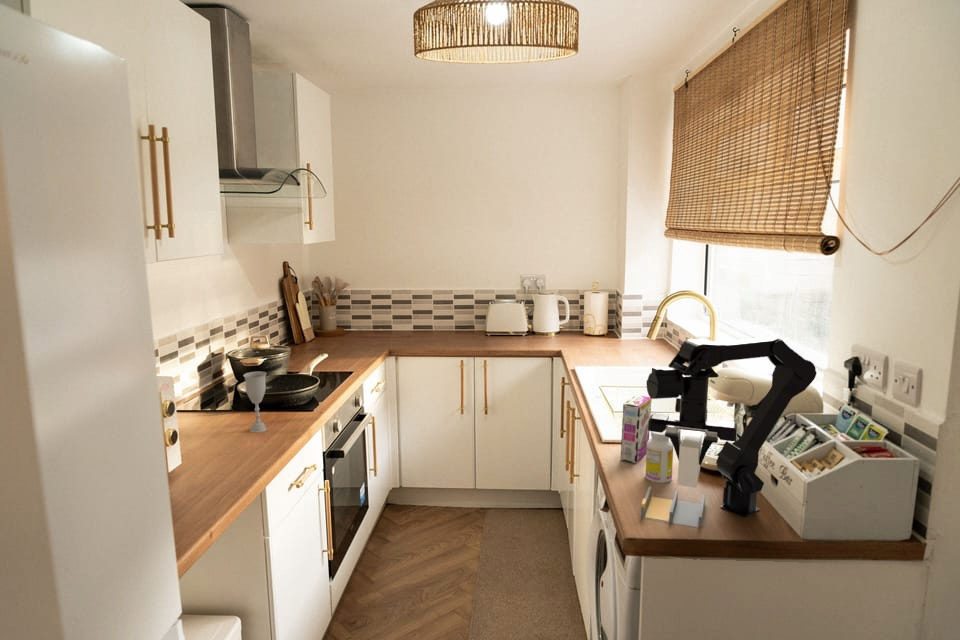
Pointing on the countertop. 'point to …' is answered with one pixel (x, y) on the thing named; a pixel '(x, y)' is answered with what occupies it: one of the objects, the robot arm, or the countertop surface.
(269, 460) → the countertop surface
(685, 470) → the white rectangular box
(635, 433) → the candy bar box
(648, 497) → the slot rack
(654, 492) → the countertop surface
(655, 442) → the supplement bottle
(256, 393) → the chalice
